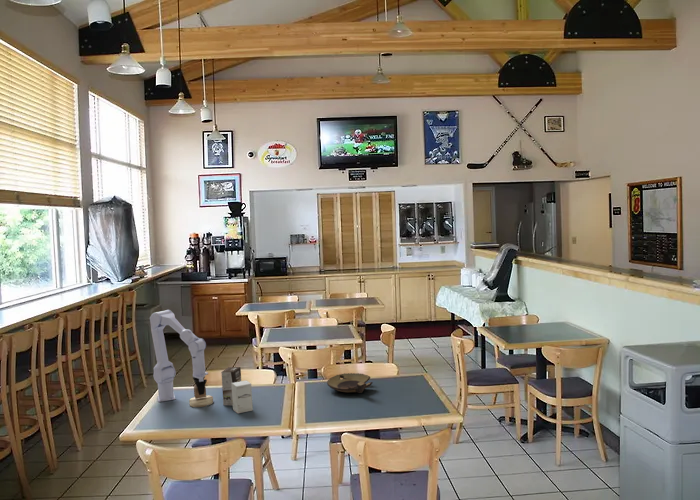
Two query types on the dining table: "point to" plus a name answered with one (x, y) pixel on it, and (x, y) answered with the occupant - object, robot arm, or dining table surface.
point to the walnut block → (198, 393)
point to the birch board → (201, 401)
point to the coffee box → (229, 383)
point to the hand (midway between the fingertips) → (200, 392)
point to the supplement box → (242, 396)
